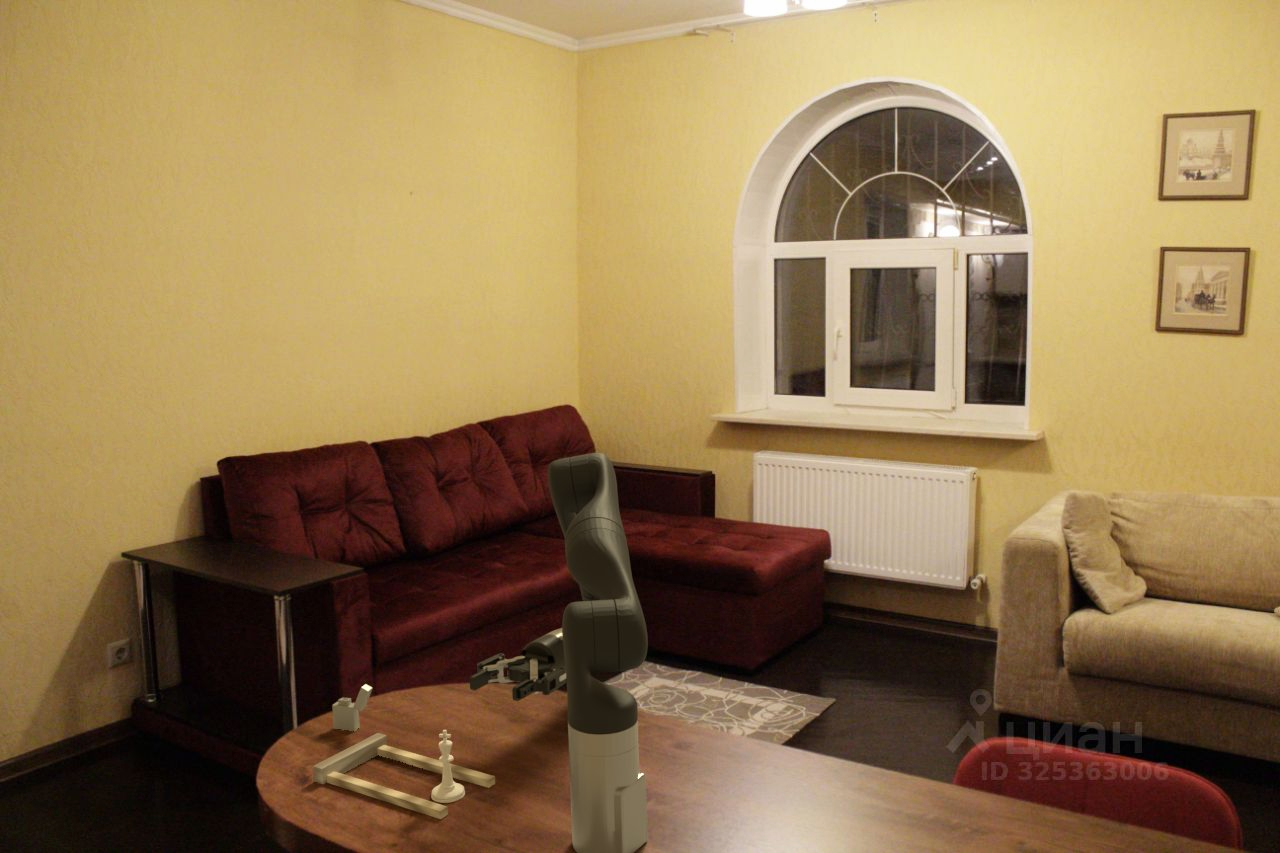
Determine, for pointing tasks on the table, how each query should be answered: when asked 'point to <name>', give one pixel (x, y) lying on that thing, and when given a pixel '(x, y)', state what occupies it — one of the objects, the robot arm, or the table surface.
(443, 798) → the chess piece
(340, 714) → the lighter
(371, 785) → the track
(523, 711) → the table surface
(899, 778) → the table surface
